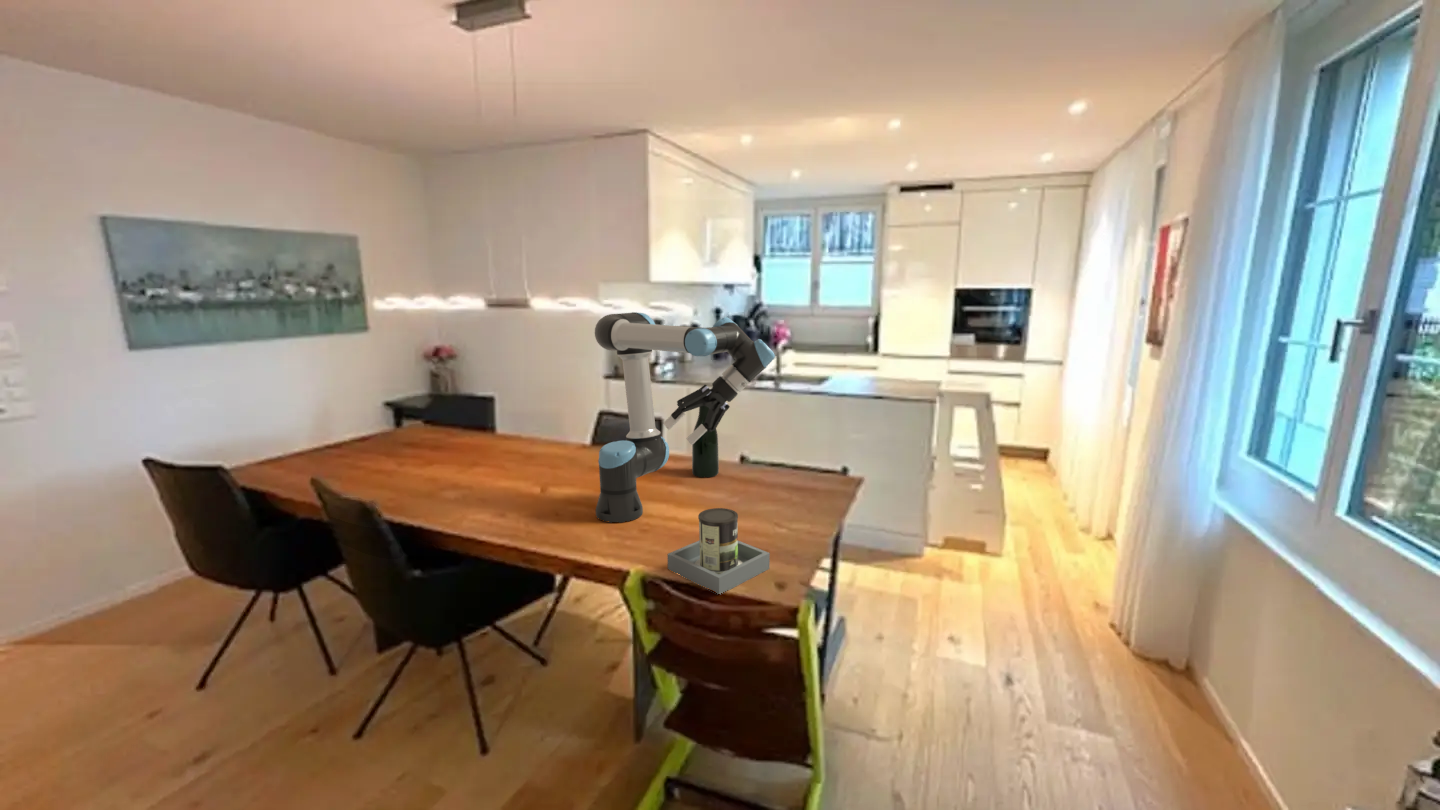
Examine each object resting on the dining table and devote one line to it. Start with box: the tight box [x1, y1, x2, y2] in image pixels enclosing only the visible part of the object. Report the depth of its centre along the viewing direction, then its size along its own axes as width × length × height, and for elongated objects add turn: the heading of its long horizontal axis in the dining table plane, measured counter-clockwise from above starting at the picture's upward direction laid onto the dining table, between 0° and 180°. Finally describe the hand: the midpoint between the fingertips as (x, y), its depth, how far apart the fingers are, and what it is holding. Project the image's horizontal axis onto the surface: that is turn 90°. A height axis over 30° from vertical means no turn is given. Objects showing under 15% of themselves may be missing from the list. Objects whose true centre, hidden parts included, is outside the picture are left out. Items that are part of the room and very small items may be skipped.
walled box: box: [667, 540, 771, 595], centre depth 159 cm, size 19×19×4 cm
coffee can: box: [697, 507, 739, 574], centre depth 158 cm, size 10×10×14 cm
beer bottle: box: [691, 392, 720, 478], centre depth 235 cm, size 10×10×33 cm
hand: (677, 434), depth 177 cm, fingers open, 13 cm apart
